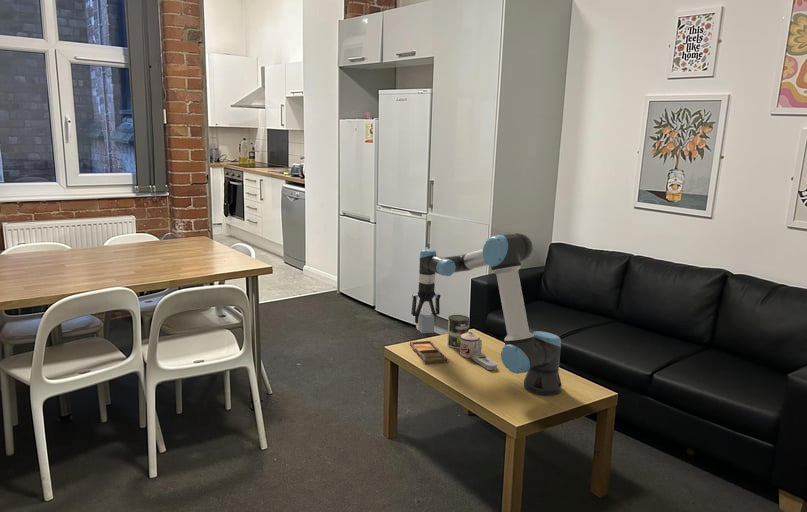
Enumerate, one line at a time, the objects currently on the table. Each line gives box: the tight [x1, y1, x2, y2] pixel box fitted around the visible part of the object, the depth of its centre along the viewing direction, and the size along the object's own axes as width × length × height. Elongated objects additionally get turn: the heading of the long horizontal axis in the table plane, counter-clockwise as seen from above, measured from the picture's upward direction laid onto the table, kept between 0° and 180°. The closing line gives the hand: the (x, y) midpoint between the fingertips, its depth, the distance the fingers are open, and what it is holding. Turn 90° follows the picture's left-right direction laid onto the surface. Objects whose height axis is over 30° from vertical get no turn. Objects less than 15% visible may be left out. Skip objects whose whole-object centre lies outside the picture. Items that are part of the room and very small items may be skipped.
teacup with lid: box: [459, 330, 481, 359], centre depth 263 cm, size 12×9×12 cm
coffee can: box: [446, 314, 470, 350], centre depth 276 cm, size 10×10×14 cm
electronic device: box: [472, 339, 498, 371], centre depth 253 cm, size 5×10×15 cm
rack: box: [409, 340, 449, 365], centre depth 265 cm, size 24×11×2 cm, turn 16°
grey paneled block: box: [415, 310, 436, 334], centre depth 268 cm, size 9×6×8 cm, turn 16°
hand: (424, 329), depth 269 cm, fingers closed on grey paneled block, 6 cm apart
